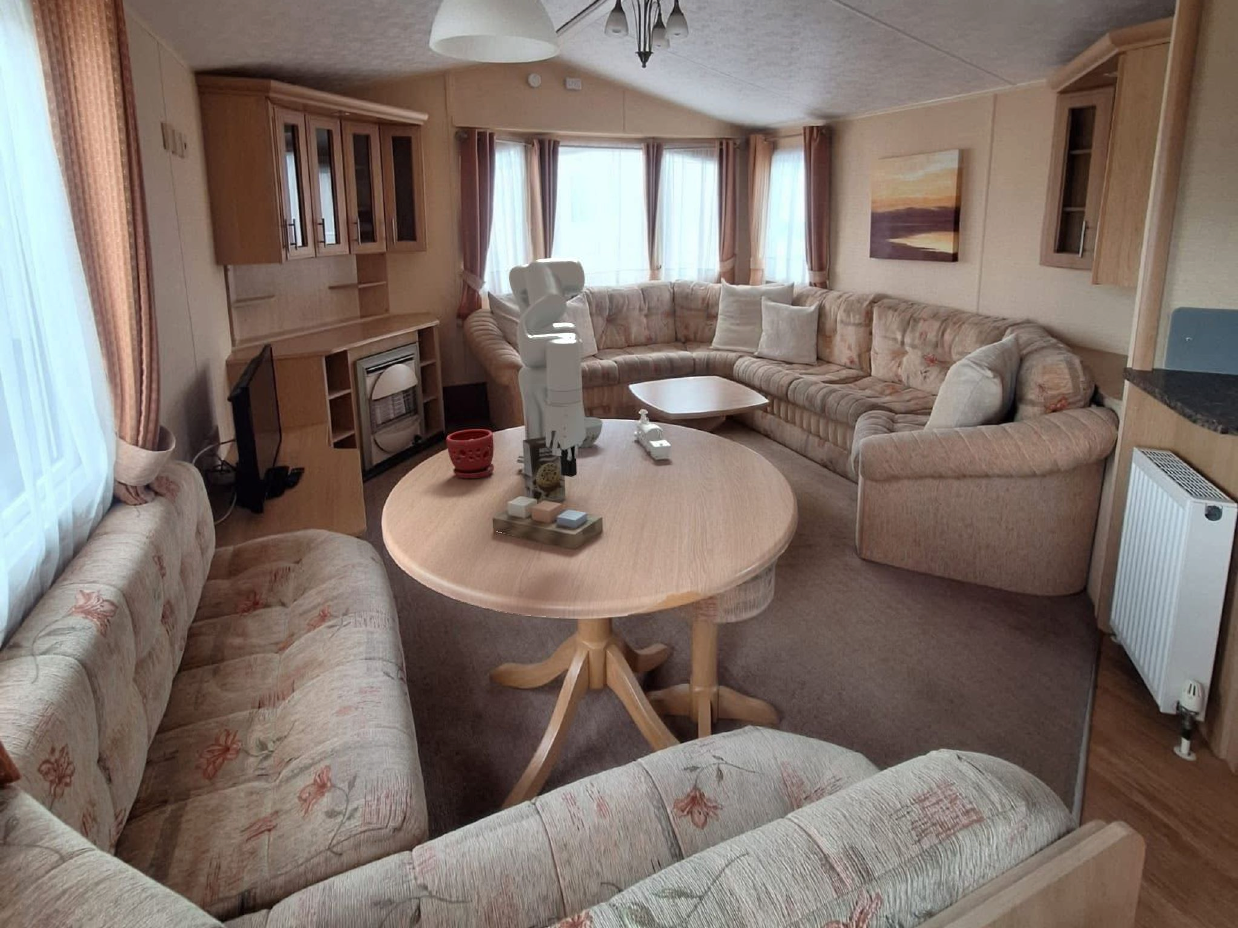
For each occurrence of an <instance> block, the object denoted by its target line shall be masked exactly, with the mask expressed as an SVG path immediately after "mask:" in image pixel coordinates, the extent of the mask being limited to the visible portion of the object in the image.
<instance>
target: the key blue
mask: <svg viewBox="0 0 1238 928" xmlns="http://www.w3.org/2000/svg"><path fill="white" fill-rule="evenodd" d="M566 510H567V511H565V512H564V513H562V514H560V515H559V516H557V525H562V526H567V527H572V528H577V527H579V526H580V525H582V524H583V523H585V522H587V514H588V513H587V512H584V511H579V510H573V509H566Z"/></svg>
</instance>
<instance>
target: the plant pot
mask: <svg viewBox="0 0 1238 928" xmlns="http://www.w3.org/2000/svg"><path fill="white" fill-rule="evenodd" d="M445 440H446V447H447V451H448V455H449V458H450V461H451V463H452V465H453V466H454V468H453V471H452V472H453V474H454V475H455V476H456V477H458V478H461V477H462V479H463V478H465V479H469V478H471V479H478V478H479V477H480V478H483V477H486V476H489V475H491V474H492V473H493V471H494V469H495V465H494V464H493V463H492V461H493V458H494V452H495V451H494V448H495V446H494V435H493V432H492V431H491V430H489V429H484V428H483V429H482V428H481V429H480V428H479V429H474V428H473V429H465V430H460V431H455V432H453V433H450V434H448V435H447V437H446V439H445Z"/></svg>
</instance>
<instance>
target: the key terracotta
mask: <svg viewBox="0 0 1238 928" xmlns="http://www.w3.org/2000/svg"><path fill="white" fill-rule="evenodd" d="M531 508H532V520H537V521H542V522H547V523H551V522H553V521H555V520H556V519H557V516H559V515H560V514H562V509H563V508H562V503H559V502H555V501H554V502H549V501H542V502H540V503H538V504H537V505H535V506H533V507H531Z"/></svg>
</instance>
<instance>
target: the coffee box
mask: <svg viewBox="0 0 1238 928" xmlns="http://www.w3.org/2000/svg"><path fill="white" fill-rule="evenodd" d="M522 449H523V450H522V455H523V456H524V463H523V468H524V475H525V476H524V475H523V476H524V491H525V493H524V494H525V497H527V498H533V499H537V504H538V503H540V502H542V501H549V502H554V503H555V502H558V501H563V500H564V501H565V500H566V499H567V498H566V495H567V494H566V479H565V478H566V476H563V475H561V459H559V456H554V455H552V450H553V447H552V448H548V447H547V446H546V437H541V438H535V439H528V440H526V439H524V440H522Z"/></svg>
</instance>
